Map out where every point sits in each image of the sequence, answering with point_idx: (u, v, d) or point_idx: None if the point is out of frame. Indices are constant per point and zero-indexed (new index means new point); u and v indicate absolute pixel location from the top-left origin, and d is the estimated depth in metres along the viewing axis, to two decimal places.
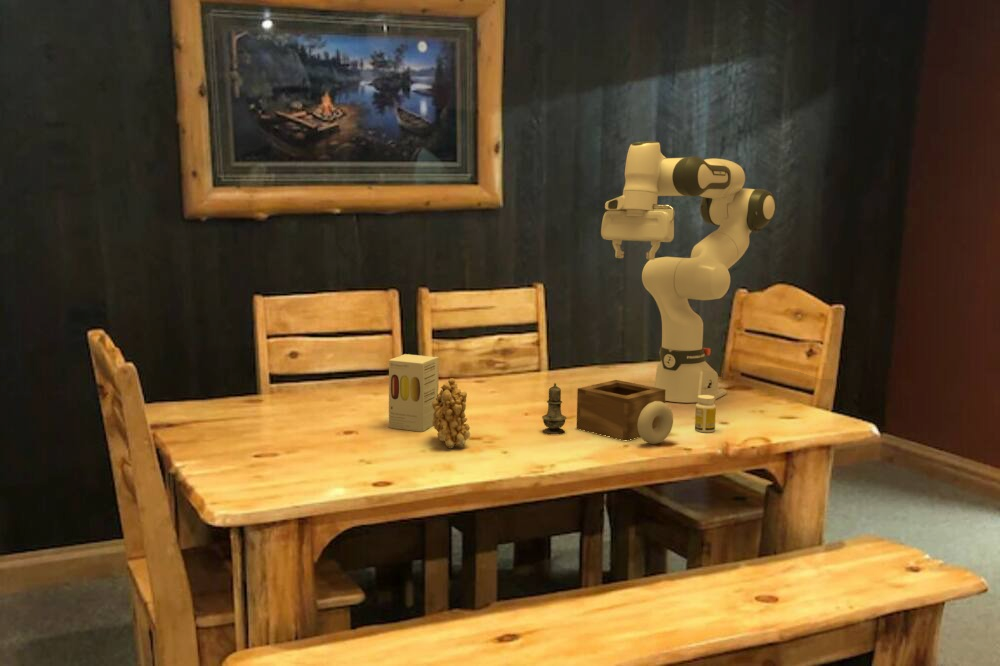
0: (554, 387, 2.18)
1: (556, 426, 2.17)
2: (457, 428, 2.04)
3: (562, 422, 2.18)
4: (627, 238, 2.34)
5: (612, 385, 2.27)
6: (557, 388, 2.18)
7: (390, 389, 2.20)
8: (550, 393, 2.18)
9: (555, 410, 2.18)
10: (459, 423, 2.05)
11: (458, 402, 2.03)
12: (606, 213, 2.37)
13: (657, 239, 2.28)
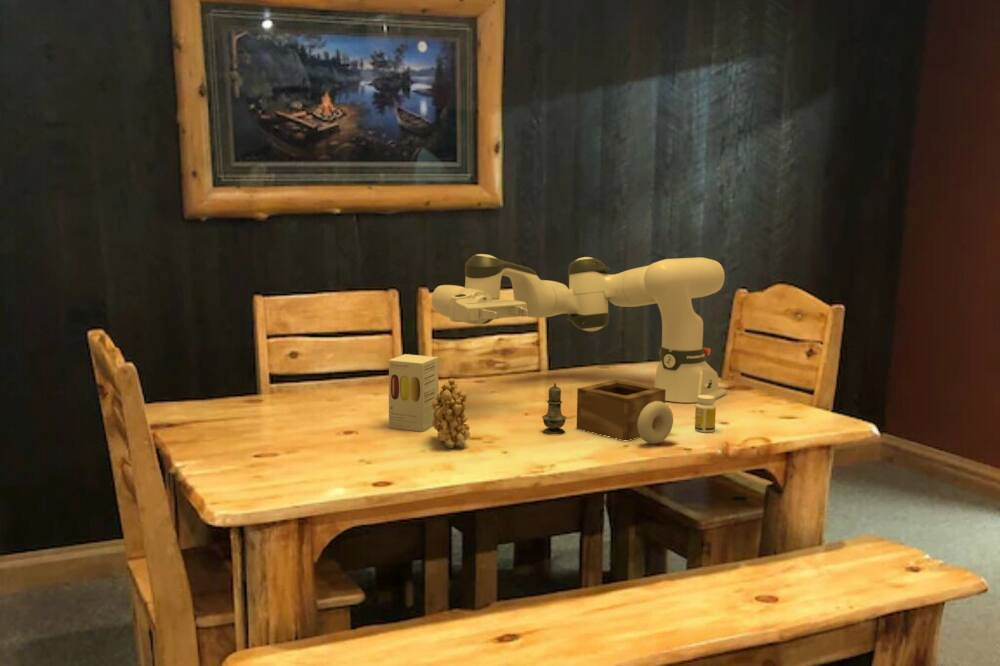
0: (554, 387, 2.18)
1: (556, 426, 2.17)
2: (457, 428, 2.04)
3: (562, 422, 2.18)
4: (494, 305, 2.30)
5: (612, 385, 2.27)
6: (557, 388, 2.18)
7: (390, 389, 2.20)
8: (550, 393, 2.18)
9: (555, 410, 2.18)
10: (459, 423, 2.05)
11: (458, 402, 2.03)
12: (458, 300, 2.30)
13: (520, 303, 2.36)
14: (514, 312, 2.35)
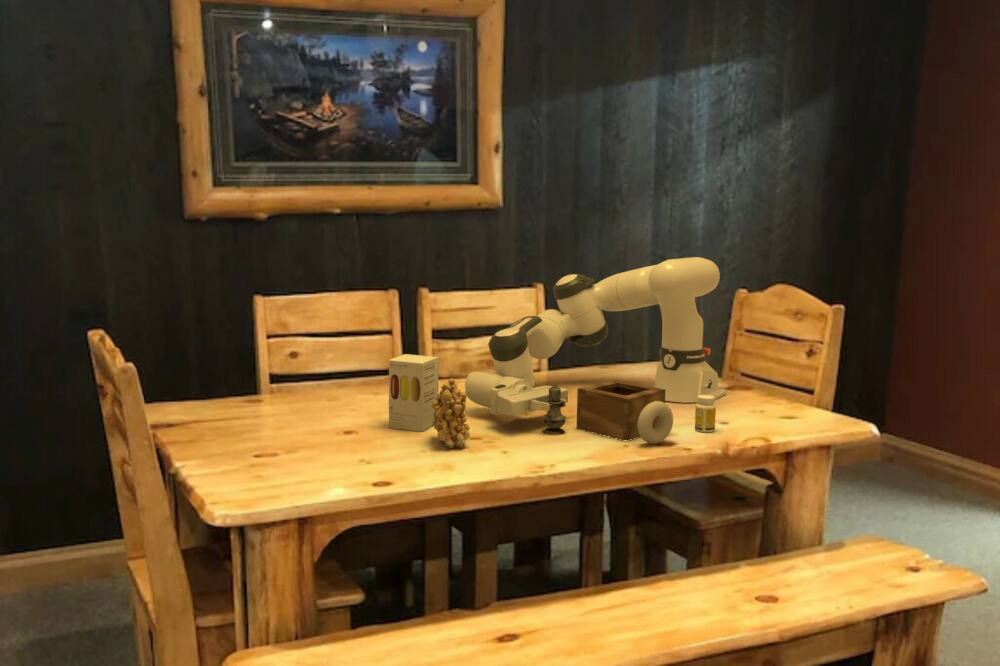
0: (554, 387, 2.18)
1: (556, 426, 2.17)
2: (457, 428, 2.04)
3: (562, 422, 2.18)
4: (537, 396, 2.20)
5: (612, 385, 2.27)
6: (557, 388, 2.18)
7: (390, 389, 2.20)
8: (550, 393, 2.18)
9: (554, 410, 2.18)
10: (459, 423, 2.05)
11: (458, 402, 2.03)
12: (499, 392, 2.20)
13: (562, 390, 2.27)
14: None
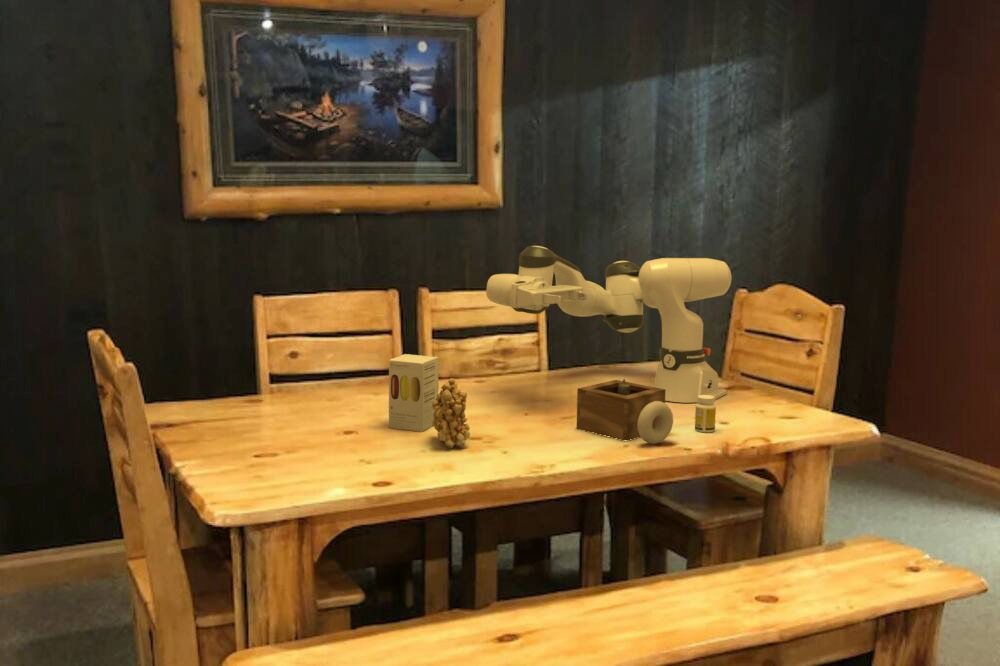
0: (623, 383, 2.20)
1: None
2: (457, 428, 2.04)
3: None
4: (555, 290, 2.36)
5: (612, 385, 2.27)
6: (626, 384, 2.20)
7: (390, 389, 2.20)
8: (619, 389, 2.20)
9: None
10: (459, 423, 2.05)
11: (458, 402, 2.03)
12: (520, 286, 2.35)
13: (577, 287, 2.42)
14: (573, 296, 2.40)
